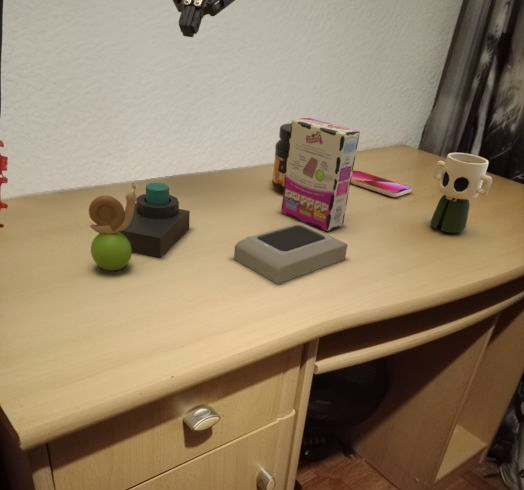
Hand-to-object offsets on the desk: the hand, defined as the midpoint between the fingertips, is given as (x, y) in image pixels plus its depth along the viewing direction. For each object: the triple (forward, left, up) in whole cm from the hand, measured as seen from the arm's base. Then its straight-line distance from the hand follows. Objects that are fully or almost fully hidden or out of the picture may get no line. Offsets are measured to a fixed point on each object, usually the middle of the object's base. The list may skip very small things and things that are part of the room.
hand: (186, 32), depth 82 cm
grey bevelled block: (+26, +2, -28) cm, 38 cm away
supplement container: (+3, +26, -28) cm, 38 cm away
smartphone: (+9, +44, -27) cm, 52 cm away
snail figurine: (+15, -22, -28) cm, 38 cm away
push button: (+6, -10, -23) cm, 26 cm away
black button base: (+8, -13, -27) cm, 31 cm away
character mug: (+32, +37, -28) cm, 56 cm away
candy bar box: (+16, +17, -28) cm, 36 cm away
